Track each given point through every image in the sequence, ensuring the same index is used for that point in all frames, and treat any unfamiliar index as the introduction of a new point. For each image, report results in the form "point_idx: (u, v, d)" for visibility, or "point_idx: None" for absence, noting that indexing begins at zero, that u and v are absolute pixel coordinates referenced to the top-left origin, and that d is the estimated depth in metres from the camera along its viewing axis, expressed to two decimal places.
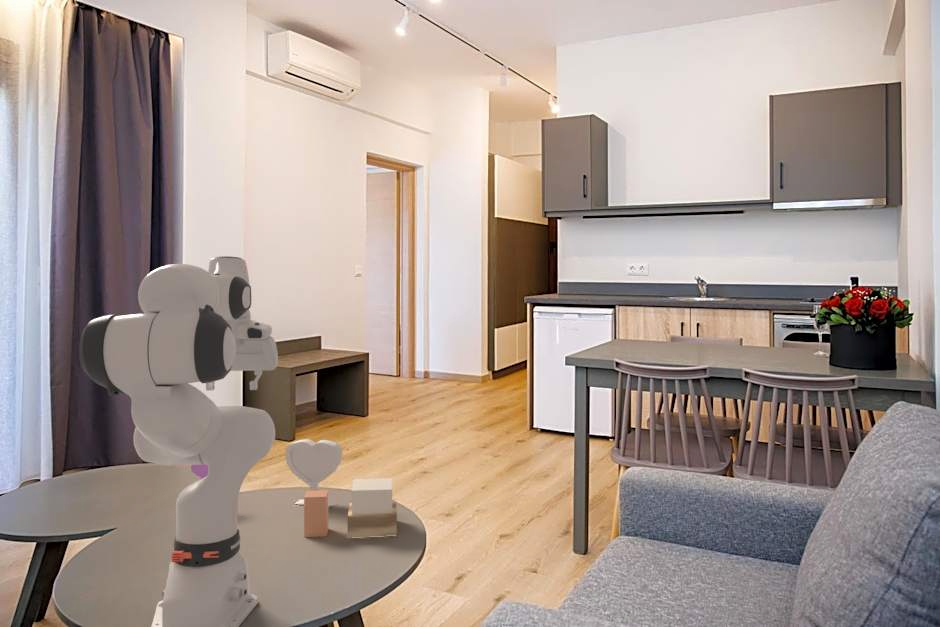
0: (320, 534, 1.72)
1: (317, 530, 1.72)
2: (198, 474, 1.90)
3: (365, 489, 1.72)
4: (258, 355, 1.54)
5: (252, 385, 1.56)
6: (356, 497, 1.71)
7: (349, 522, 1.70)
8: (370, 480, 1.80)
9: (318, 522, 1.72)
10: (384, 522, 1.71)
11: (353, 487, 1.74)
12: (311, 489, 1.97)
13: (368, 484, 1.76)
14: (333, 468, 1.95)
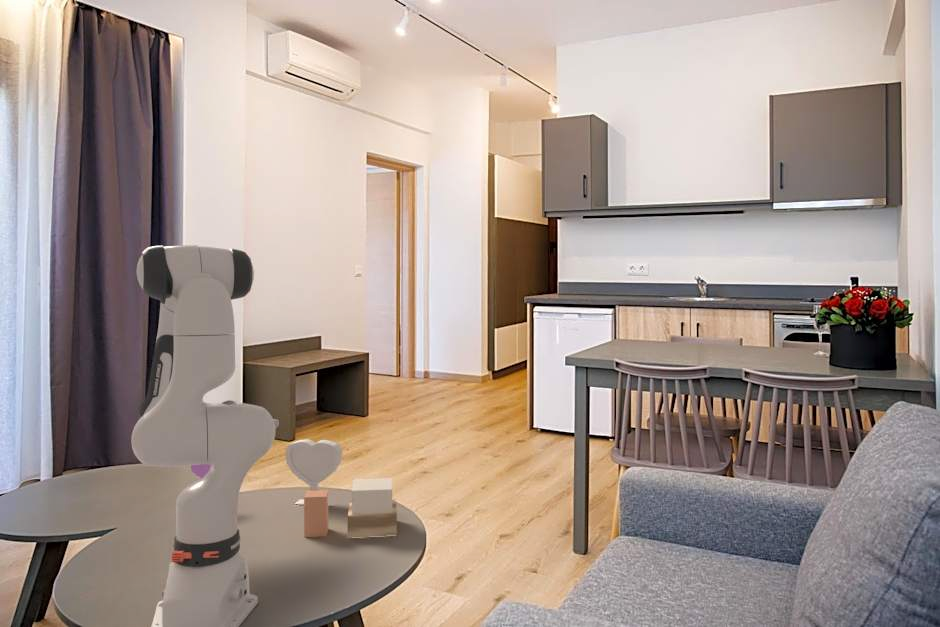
0: (320, 534, 1.72)
1: (317, 530, 1.72)
2: (198, 474, 1.90)
3: (365, 489, 1.72)
4: None
5: (273, 420, 1.74)
6: (356, 497, 1.71)
7: (349, 522, 1.70)
8: (370, 480, 1.80)
9: (318, 522, 1.72)
10: (384, 522, 1.71)
11: (353, 487, 1.74)
12: (311, 489, 1.97)
13: (368, 484, 1.76)
14: (333, 468, 1.95)
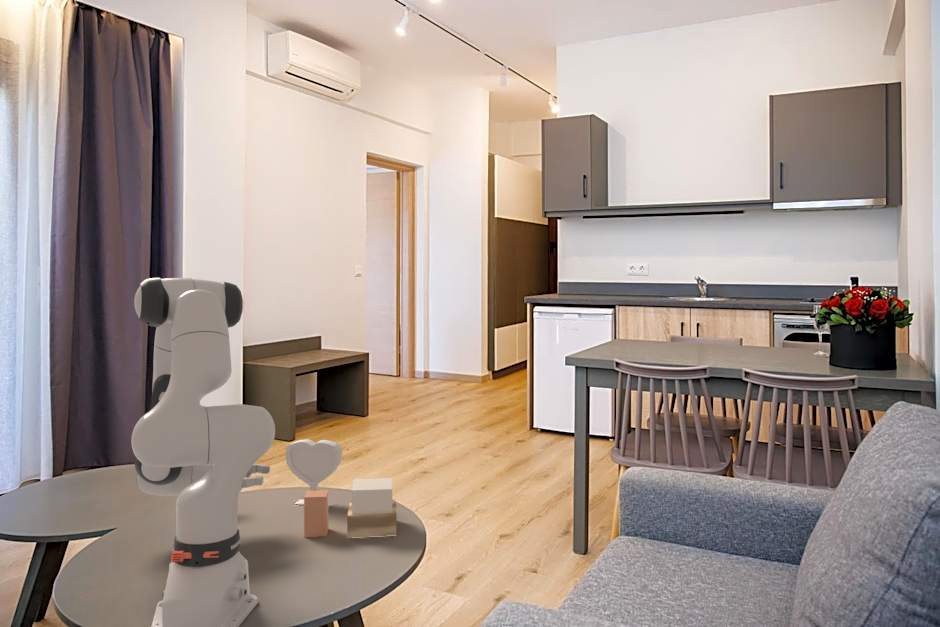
0: (320, 534, 1.72)
1: (317, 530, 1.72)
2: None
3: (365, 489, 1.72)
4: None
5: (264, 466, 1.77)
6: (356, 497, 1.71)
7: (349, 522, 1.70)
8: (370, 480, 1.80)
9: (318, 522, 1.72)
10: (384, 522, 1.71)
11: (353, 487, 1.74)
12: (311, 489, 1.97)
13: (367, 484, 1.76)
14: (333, 468, 1.95)
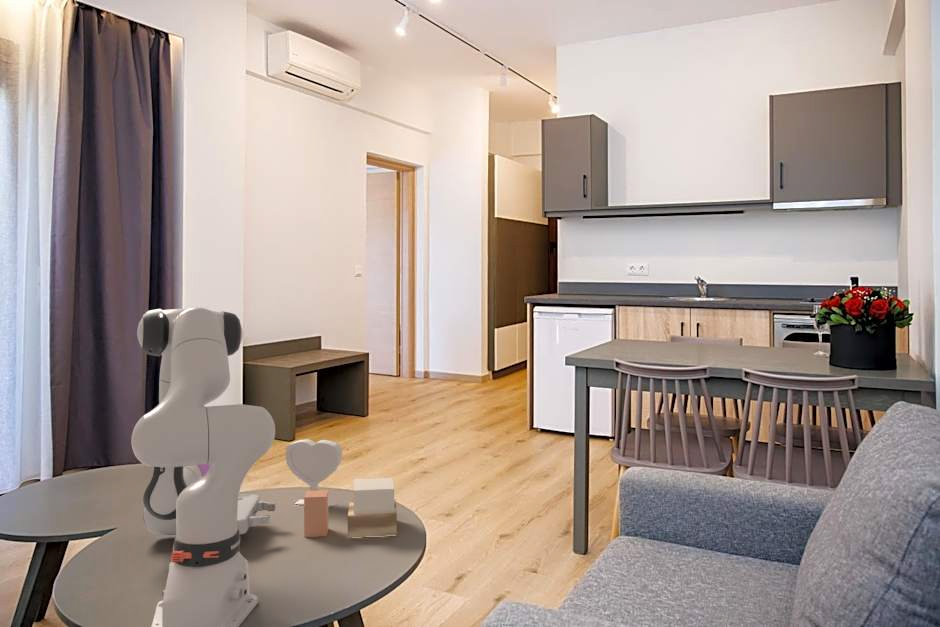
0: (320, 534, 1.72)
1: (317, 530, 1.72)
2: None
3: (367, 489, 1.72)
4: (243, 499, 1.78)
5: (271, 503, 1.77)
6: (358, 497, 1.72)
7: (349, 522, 1.70)
8: (371, 480, 1.80)
9: (318, 522, 1.72)
10: (384, 522, 1.72)
11: (355, 487, 1.74)
12: (311, 489, 1.97)
13: (369, 484, 1.76)
14: (333, 468, 1.95)
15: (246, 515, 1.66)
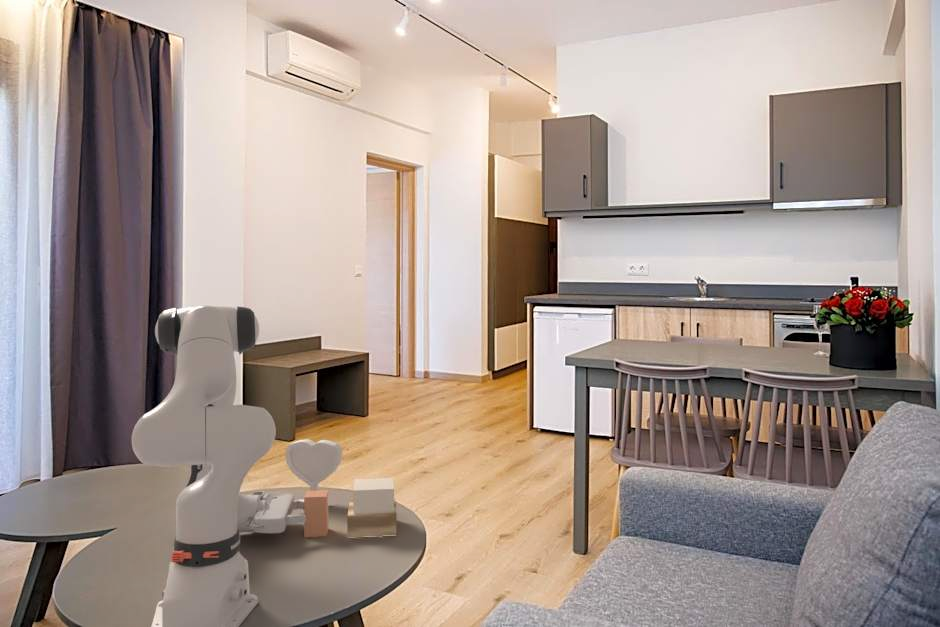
0: (320, 534, 1.72)
1: (317, 530, 1.72)
2: None
3: (367, 489, 1.72)
4: (278, 498, 1.79)
5: None
6: (358, 497, 1.71)
7: (349, 522, 1.71)
8: (371, 480, 1.80)
9: (318, 522, 1.72)
10: (384, 522, 1.72)
11: (354, 487, 1.74)
12: (311, 489, 1.97)
13: (369, 484, 1.76)
14: (333, 468, 1.95)
15: (284, 514, 1.67)
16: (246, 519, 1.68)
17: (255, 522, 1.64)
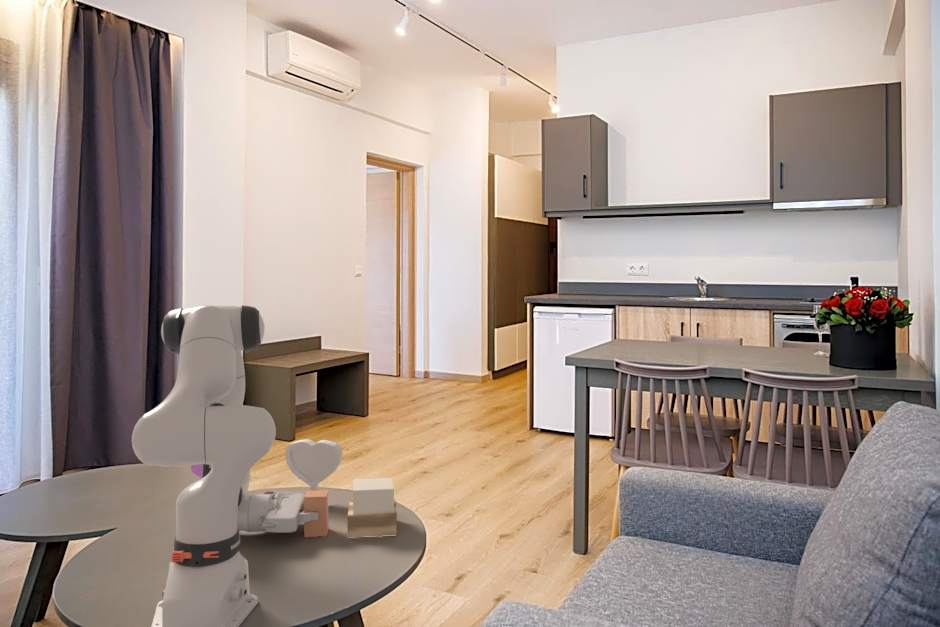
0: (320, 534, 1.72)
1: (317, 530, 1.72)
2: (198, 474, 1.90)
3: (366, 489, 1.72)
4: (289, 497, 1.80)
5: None
6: (358, 497, 1.71)
7: (349, 522, 1.71)
8: (370, 480, 1.80)
9: (318, 522, 1.72)
10: (384, 522, 1.72)
11: (354, 487, 1.74)
12: (311, 489, 1.97)
13: (368, 484, 1.76)
14: (333, 468, 1.95)
15: (296, 513, 1.67)
16: (258, 518, 1.68)
17: (267, 521, 1.64)
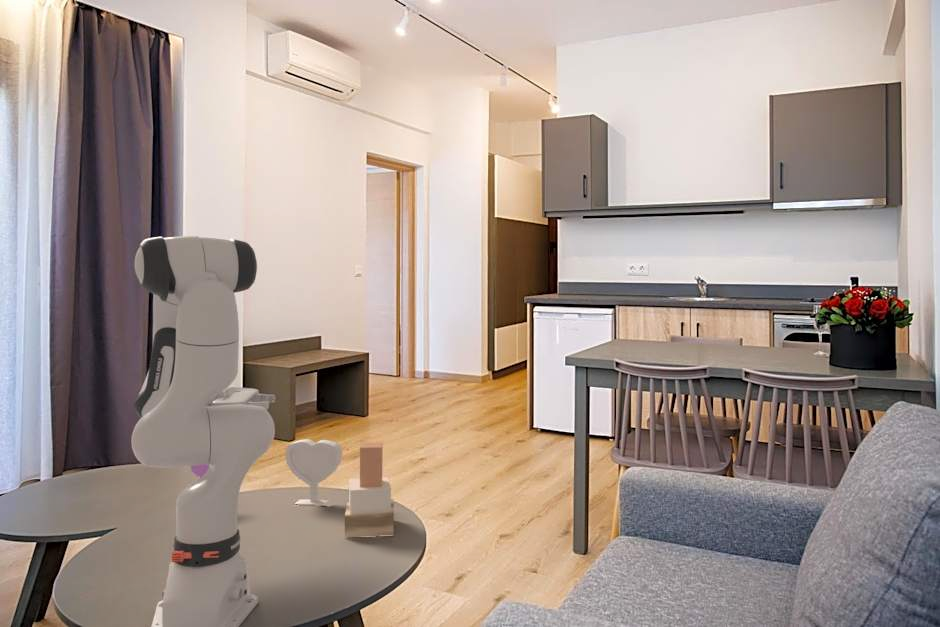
0: (375, 484, 1.74)
1: (372, 480, 1.74)
2: (198, 474, 1.90)
3: (364, 489, 1.72)
4: (241, 391, 1.73)
5: (270, 395, 1.72)
6: (355, 497, 1.72)
7: (346, 522, 1.71)
8: None
9: (373, 472, 1.74)
10: (381, 522, 1.72)
11: (351, 487, 1.74)
12: (311, 489, 1.97)
13: None
14: (333, 468, 1.95)
15: (244, 399, 1.61)
16: (205, 406, 1.62)
17: (213, 406, 1.58)
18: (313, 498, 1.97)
